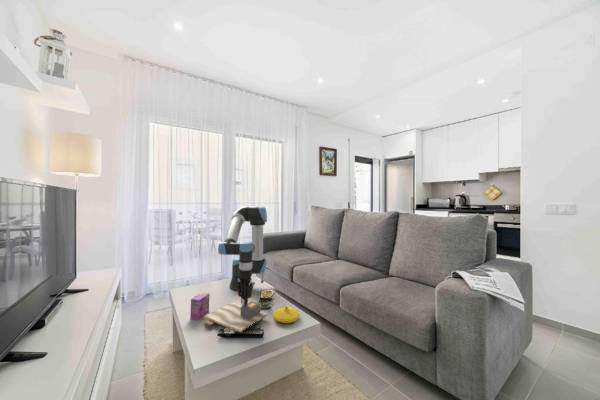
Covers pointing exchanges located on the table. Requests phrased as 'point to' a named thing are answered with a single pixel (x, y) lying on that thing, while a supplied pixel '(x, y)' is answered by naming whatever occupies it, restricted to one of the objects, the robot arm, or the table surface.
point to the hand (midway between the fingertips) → (244, 309)
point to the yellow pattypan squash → (286, 315)
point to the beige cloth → (231, 318)
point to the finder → (250, 310)
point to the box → (199, 306)
